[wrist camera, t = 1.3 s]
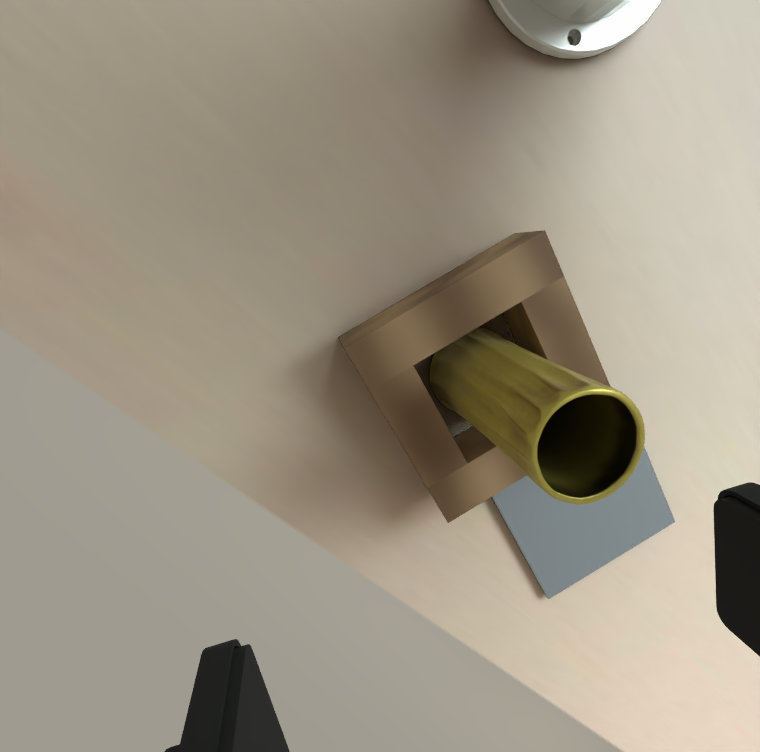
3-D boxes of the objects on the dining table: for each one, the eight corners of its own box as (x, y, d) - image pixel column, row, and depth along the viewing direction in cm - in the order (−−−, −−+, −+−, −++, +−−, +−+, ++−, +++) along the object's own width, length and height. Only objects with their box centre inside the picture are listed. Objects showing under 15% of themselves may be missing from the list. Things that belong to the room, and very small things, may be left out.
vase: (462, 429, 35) (570, 540, 21) (410, 366, 33) (492, 443, 19) (528, 374, 35) (680, 451, 21) (480, 308, 33) (611, 345, 19)
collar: (514, 233, 32) (544, 230, 28) (588, 400, 36) (623, 417, 32) (338, 337, 32) (344, 348, 28) (431, 494, 36) (447, 522, 32)
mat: (619, 398, 36) (625, 400, 36) (669, 517, 40) (675, 521, 39) (482, 480, 36) (485, 484, 36) (544, 594, 40) (548, 599, 39)
